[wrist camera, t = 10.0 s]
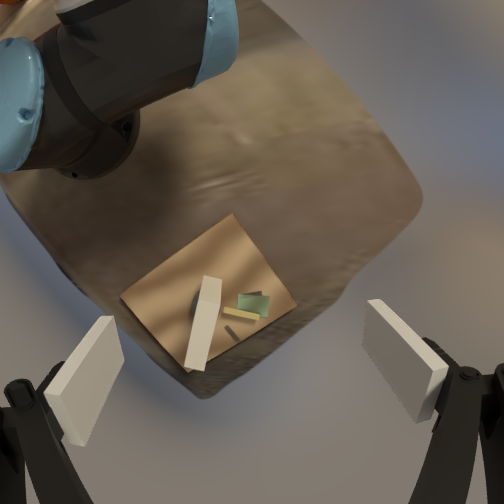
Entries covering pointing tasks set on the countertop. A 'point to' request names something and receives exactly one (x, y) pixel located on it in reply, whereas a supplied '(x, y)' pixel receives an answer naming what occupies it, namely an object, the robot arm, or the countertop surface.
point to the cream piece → (207, 321)
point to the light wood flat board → (190, 281)
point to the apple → (8, 1)
